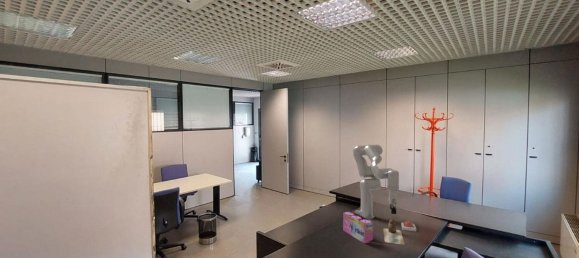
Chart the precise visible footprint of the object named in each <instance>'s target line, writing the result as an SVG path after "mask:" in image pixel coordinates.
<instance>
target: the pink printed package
mask: <svg viewBox="0 0 579 258" xmlns="http://www.w3.org/2000/svg"><path fill="white" fill-rule="evenodd" d="M342 212H343V211H342ZM342 215H343V220H342V222H343V223H342V228H343V229H342V230H343V232H345V233H346V234H348V235H350V236H351V237H353V238H355V239H356V240H358V241H359V242H361V243H363V244H364V243H365V244H369V243H371V242H372V241H373V240H374V221H373V220H372V219H368V218H365V217H363V216H361V215H359V213H356V212H355V211H352V210H349V211H346V212H343V214H342Z"/></svg>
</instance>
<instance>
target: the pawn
mask: <svg viewBox="0 0 579 258" xmlns="http://www.w3.org/2000/svg"><path fill="white" fill-rule="evenodd" d="M388 229H389V232H390V233H396V230H397V222H396V220H395V219H393V218H392V219H390V220H389V222H388Z"/></svg>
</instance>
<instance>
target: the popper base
mask: <svg viewBox="0 0 579 258" xmlns="http://www.w3.org/2000/svg"><path fill="white" fill-rule="evenodd" d="M400 226H401V229H402V230H403V231H407V232H409V231H410V232H417V227H416V225H415V223H412V227H405V222H402V221H401V222H400Z"/></svg>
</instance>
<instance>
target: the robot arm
mask: <svg viewBox="0 0 579 258" xmlns="http://www.w3.org/2000/svg"><path fill="white" fill-rule="evenodd" d="M352 153H353V158H354V160H355V163H356V166H357V170H358V175H359V176H360V178H363V179H361V180H360V182H359V188H360V189H359V190H360V209H359V210H357V209H355V211H354V212H355V213H357V214H359V215H361V216H363V217H365V218H367V219H369V220H372V219H374V218H375V215H374V214H373V211H374V210H373V204H374V203H373V200H374V197H373V193H372V192H371V191H376V190H381V187H382V183H381V182H382V181H381V180H387V190H388V204H389V209H390V212H391V213H390V214H392V215H397V205H398V192H399V191H400V172H399V171H398V170H396V169H392V168H389V167H387V168H386V167H385V168H379V167H378V166H377V165H378V164H380V163H381V162H382V160H383V158H382V153H383V147H382V146H381V145H380V144H368V145H356V146H355V147H354V148H353V151H352ZM364 156H367V157H368V159H369V161H371V163H370V165H368V161H367V160H366V158H365V157H364Z"/></svg>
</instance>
